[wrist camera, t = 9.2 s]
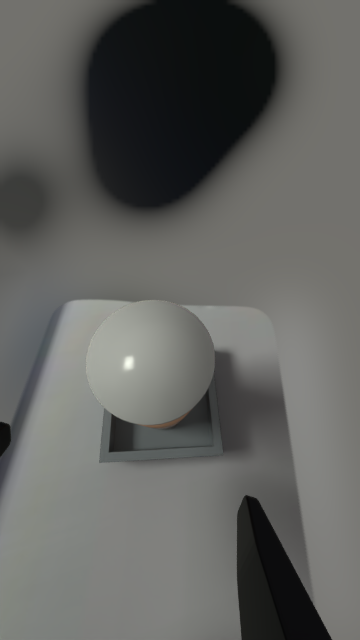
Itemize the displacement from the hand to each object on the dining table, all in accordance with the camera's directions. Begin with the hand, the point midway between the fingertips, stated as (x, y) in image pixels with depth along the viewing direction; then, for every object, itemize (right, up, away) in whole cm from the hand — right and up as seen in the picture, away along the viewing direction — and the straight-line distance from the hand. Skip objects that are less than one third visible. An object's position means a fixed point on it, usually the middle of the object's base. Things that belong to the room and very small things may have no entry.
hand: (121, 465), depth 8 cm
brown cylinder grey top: (+1, -2, +12) cm, 12 cm away
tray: (+1, -2, +12) cm, 13 cm away
